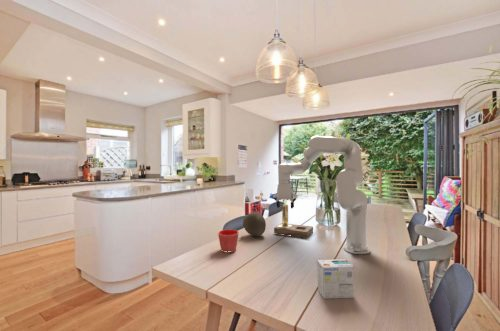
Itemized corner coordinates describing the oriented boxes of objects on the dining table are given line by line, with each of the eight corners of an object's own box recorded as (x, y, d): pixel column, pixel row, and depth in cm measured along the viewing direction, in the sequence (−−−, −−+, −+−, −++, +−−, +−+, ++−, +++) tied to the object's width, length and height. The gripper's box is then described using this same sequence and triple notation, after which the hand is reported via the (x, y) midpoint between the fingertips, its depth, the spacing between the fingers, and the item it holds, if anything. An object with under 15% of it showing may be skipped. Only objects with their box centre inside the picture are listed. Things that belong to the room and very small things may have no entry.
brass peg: (289, 225, 158) (289, 204, 158) (286, 226, 154) (286, 205, 154) (283, 224, 159) (283, 204, 160) (281, 226, 156) (281, 205, 156)
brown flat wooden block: (307, 238, 142) (307, 231, 142) (274, 233, 153) (273, 227, 153) (313, 232, 155) (312, 226, 155) (281, 228, 165) (281, 222, 165)
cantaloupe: (256, 231, 159) (255, 209, 159) (270, 236, 148) (270, 212, 148) (239, 236, 150) (239, 212, 150) (253, 241, 139) (253, 216, 139)
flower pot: (241, 252, 122) (241, 233, 122) (221, 255, 118) (220, 236, 118) (235, 245, 132) (235, 228, 132) (216, 248, 128) (216, 230, 128)
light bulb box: (346, 287, 85) (345, 258, 85) (354, 298, 78) (354, 266, 78) (316, 288, 84) (316, 259, 85) (323, 299, 78) (322, 267, 78)
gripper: (298, 181, 156) (299, 207, 156) (274, 181, 164) (275, 206, 164) (295, 182, 149) (295, 209, 149) (270, 182, 158) (271, 208, 157)
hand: (285, 207), depth 156 cm, fingers open, 9 cm apart
